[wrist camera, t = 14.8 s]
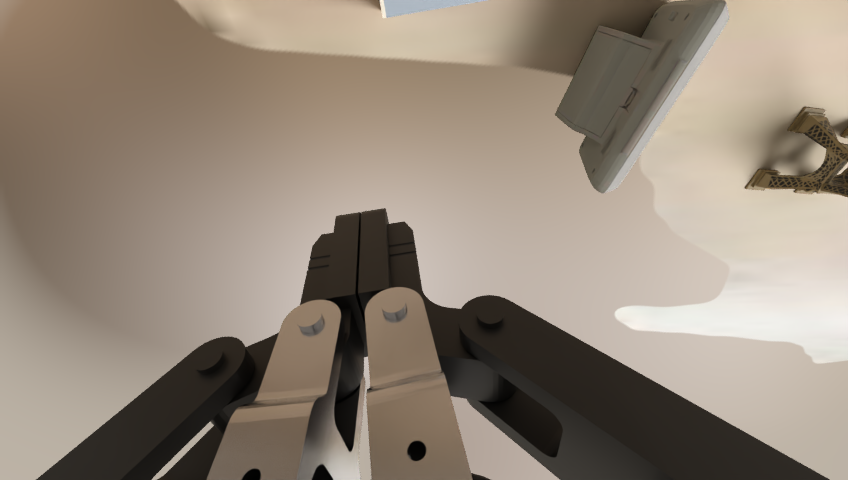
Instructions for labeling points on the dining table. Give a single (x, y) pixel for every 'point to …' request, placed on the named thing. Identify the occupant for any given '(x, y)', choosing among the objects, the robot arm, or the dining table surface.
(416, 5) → the slate-blue block
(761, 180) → the eiffel tower
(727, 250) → the dining table surface
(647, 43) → the digital clock
